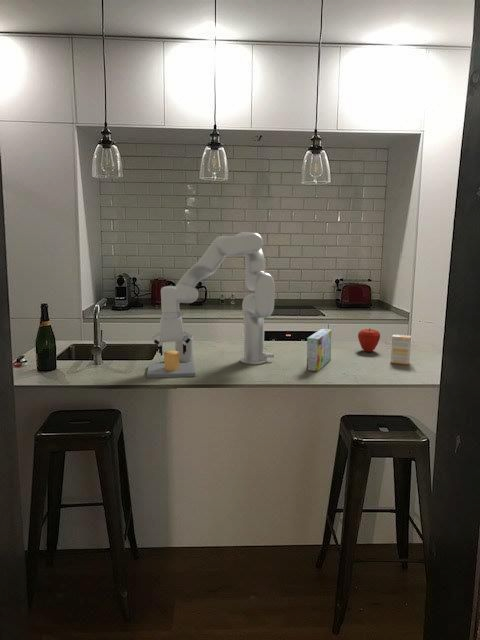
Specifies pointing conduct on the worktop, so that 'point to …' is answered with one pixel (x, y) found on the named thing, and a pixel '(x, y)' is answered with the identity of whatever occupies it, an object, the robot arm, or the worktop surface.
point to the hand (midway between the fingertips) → (172, 354)
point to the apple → (368, 339)
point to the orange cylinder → (171, 360)
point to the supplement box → (400, 349)
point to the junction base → (159, 371)
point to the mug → (189, 350)
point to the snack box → (318, 349)
